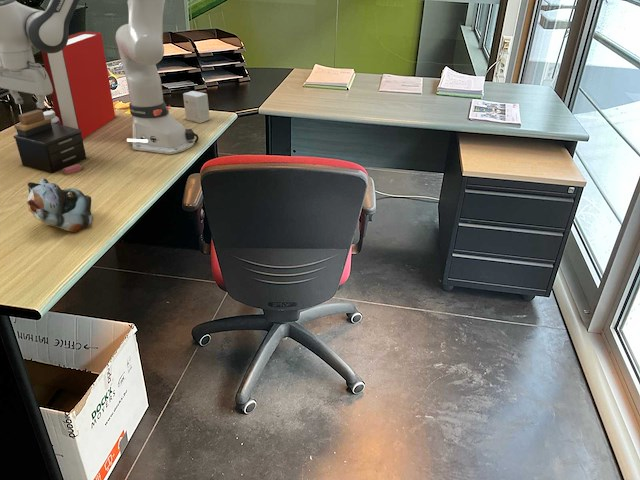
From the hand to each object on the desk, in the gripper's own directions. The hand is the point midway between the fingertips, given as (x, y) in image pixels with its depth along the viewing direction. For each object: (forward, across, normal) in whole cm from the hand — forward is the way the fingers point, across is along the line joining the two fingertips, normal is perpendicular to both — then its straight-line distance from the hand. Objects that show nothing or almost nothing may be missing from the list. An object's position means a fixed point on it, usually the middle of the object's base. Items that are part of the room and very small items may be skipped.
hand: (30, 105), depth 167 cm
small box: (+20, -17, -58) cm, 64 cm away
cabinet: (+18, -4, 0) cm, 19 cm away
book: (+19, +13, -32) cm, 39 cm away
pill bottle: (+18, +12, -16) cm, 27 cm away
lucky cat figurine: (+18, -40, +28) cm, 51 cm away
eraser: (+18, -14, +2) cm, 23 cm away
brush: (+8, 0, 0) cm, 8 cm away
